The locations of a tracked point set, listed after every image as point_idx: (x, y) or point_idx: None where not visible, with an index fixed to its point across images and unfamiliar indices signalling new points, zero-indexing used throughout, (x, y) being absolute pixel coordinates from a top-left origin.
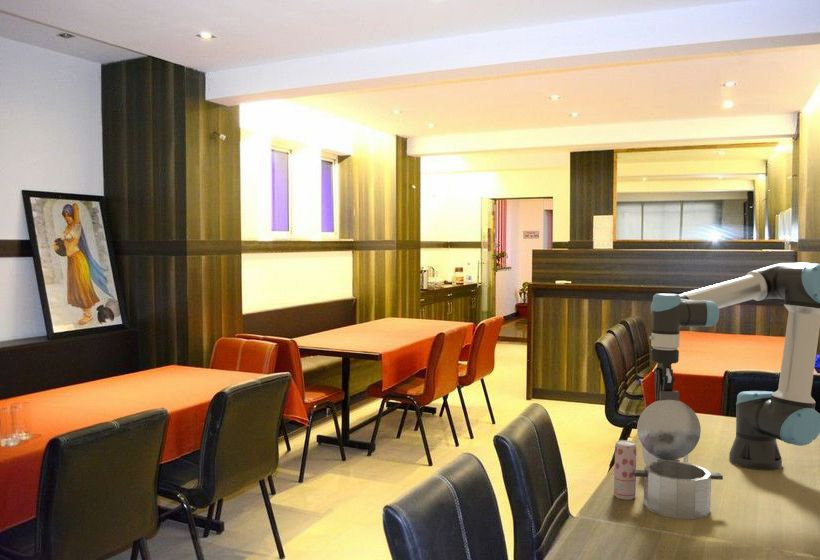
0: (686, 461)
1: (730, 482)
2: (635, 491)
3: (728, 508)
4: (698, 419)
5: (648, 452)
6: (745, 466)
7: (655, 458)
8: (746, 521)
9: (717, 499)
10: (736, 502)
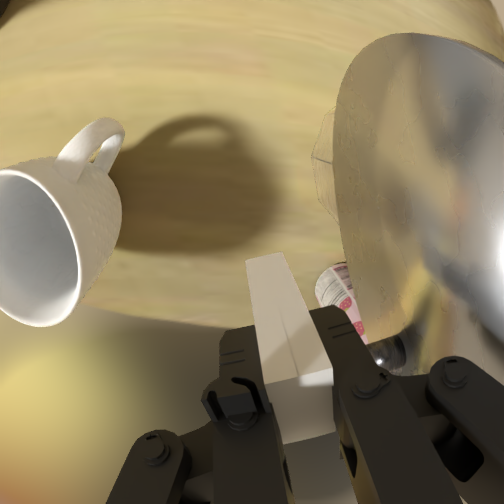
0: (119, 123)
1: (120, 10)
2: (345, 268)
3: (355, 36)
4: (462, 42)
5: (105, 264)
6: (3, 9)
7: (118, 234)
8: (419, 28)
9: (293, 46)
10: (300, 6)
